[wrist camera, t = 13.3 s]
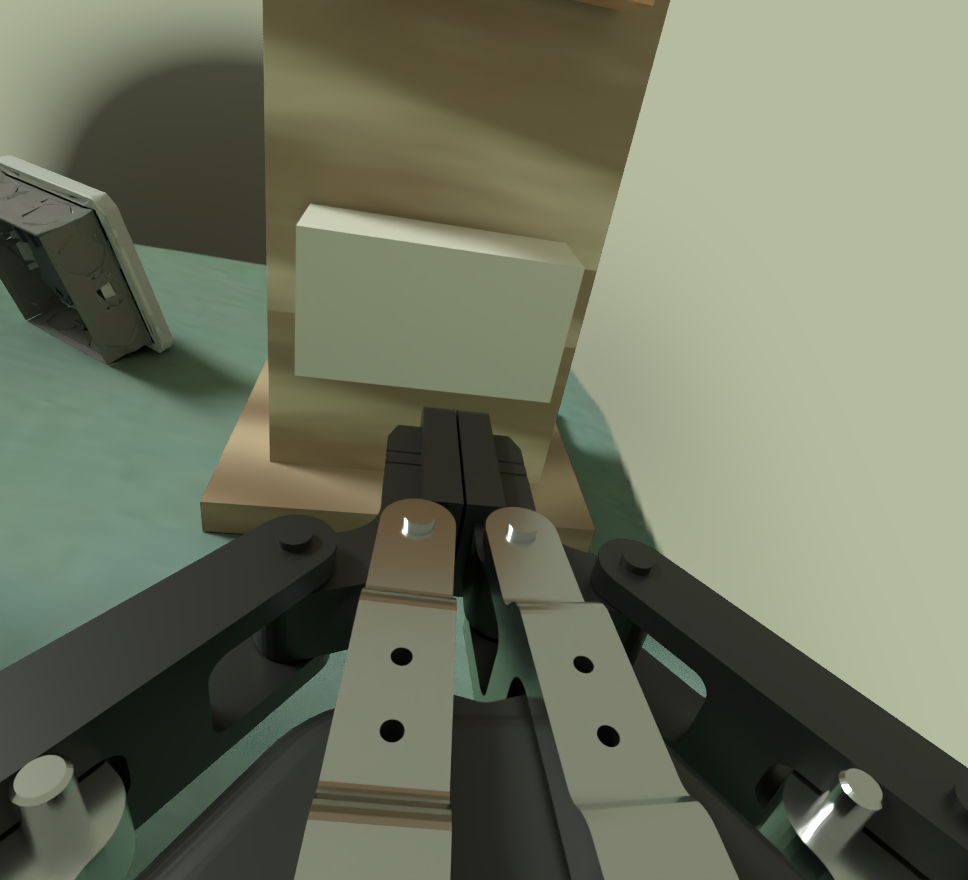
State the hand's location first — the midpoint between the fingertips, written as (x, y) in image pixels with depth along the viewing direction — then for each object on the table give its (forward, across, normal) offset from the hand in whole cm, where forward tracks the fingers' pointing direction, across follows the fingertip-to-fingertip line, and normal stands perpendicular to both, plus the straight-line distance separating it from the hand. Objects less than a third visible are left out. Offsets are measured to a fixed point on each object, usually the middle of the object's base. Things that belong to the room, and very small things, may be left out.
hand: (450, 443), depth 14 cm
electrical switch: (+23, -19, -10) cm, 32 cm away
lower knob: (+11, 0, -2) cm, 12 cm away
